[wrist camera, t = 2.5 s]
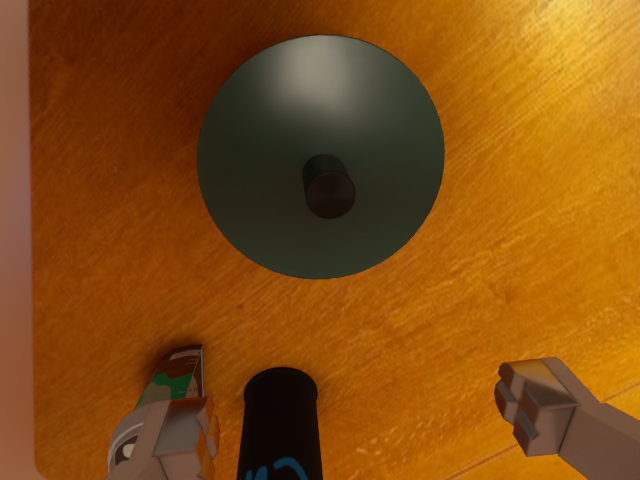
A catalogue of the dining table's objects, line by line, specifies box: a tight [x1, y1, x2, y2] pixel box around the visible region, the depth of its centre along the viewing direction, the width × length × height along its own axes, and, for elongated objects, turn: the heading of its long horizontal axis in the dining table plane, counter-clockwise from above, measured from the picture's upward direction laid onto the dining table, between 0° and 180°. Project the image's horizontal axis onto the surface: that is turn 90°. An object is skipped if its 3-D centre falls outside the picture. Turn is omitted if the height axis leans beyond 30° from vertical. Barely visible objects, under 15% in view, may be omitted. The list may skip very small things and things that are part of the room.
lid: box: [197, 34, 445, 279], centre depth 19 cm, size 14×14×5 cm
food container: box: [108, 345, 204, 474], centre depth 35 cm, size 12×6×10 cm, turn 174°
